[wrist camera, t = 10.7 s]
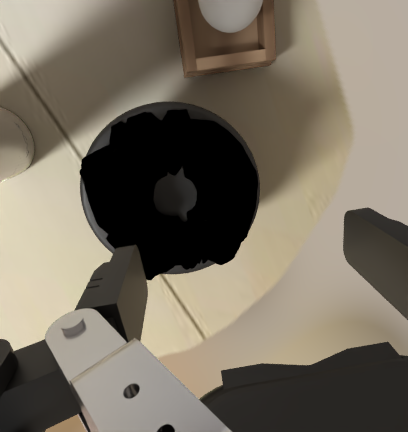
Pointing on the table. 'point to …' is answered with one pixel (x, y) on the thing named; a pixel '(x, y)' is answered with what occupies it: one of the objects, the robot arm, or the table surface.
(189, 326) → the table surface
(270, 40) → the wooden tray
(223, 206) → the coal bowl
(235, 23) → the lightbulb
